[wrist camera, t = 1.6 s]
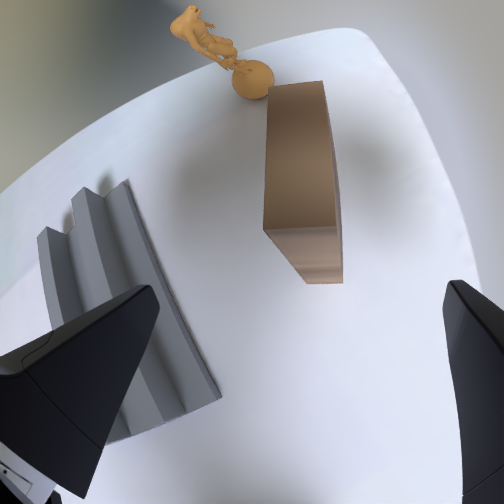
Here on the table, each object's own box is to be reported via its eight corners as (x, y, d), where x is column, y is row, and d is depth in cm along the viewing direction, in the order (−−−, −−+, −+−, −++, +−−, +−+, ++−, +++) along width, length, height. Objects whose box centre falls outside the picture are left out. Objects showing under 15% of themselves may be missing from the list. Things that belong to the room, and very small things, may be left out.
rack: (222, 397, 20) (195, 407, 16) (107, 444, 22) (78, 452, 18) (128, 185, 29) (103, 168, 25) (50, 260, 30) (25, 251, 26)
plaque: (343, 283, 20) (336, 226, 10) (306, 284, 20) (263, 229, 10) (339, 189, 22) (322, 80, 11) (306, 191, 22) (268, 87, 12)
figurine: (291, 112, 25) (249, 2, 14) (230, 136, 26) (164, 39, 15) (266, 65, 28) (226, -25, 17) (215, 86, 29) (162, 4, 18)
